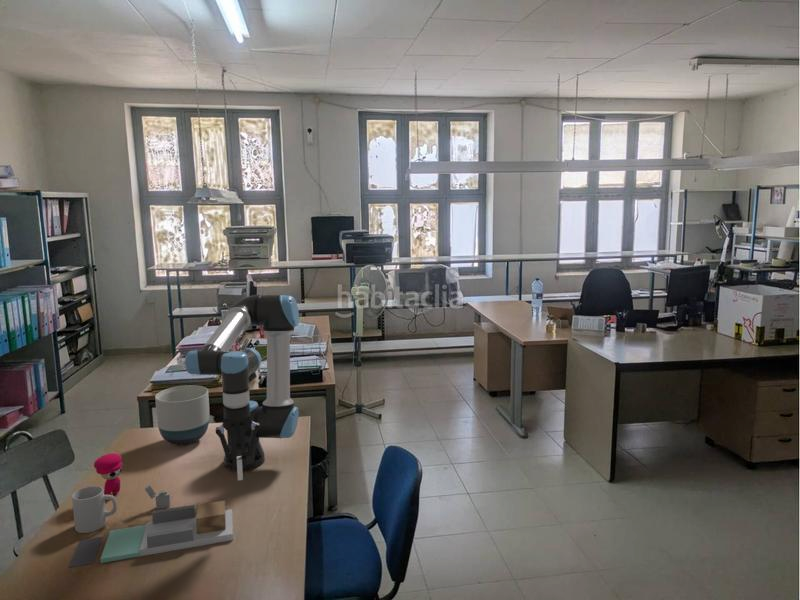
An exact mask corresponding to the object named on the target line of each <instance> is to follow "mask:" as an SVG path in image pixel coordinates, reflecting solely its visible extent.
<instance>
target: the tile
mask: <svg viewBox="0 0 800 600" xmlns="http://www.w3.org/2000/svg"><path fill="white" fill-rule="evenodd" d="M145 527H146V524H144V525H137V526H130V527H125V528H117V529H111V530H110V531H109V534H108V536H107V539H106V542H105V544H104V548H103V551H102V554H101V556H100V564H103V563H109V562H110V563H111V562H115V561H116V562H117V561H122V560H127V559H133V558H138V557H141V556H140V547H141V543H142V539H143V535H144V531H145Z"/></svg>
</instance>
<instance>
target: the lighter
mask: <svg viewBox="0 0 800 600" xmlns="http://www.w3.org/2000/svg"><path fill="white" fill-rule="evenodd" d="M144 490H145V492H146V493H147V495H148V496H149V497H150V499H151V500H152V499H154V498H155V508H156V510H161V509H168V508H171V494H170V492H168V491H166V490H161V491H159V493H156V491H155V490H154V489H153V487H152V486H151V485H150V484H148V485H147V486H145V487H144Z"/></svg>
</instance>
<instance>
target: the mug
mask: <svg viewBox="0 0 800 600" xmlns="http://www.w3.org/2000/svg"><path fill="white" fill-rule="evenodd" d="M71 501H72V503H71V504H72V513H73V519H74V520H73V522H74V529H75V532H77V533H78V534H90V533H94V532H95V531H96V532H97V531H98V530H101V529H102V528H103V527H105V525H106V524H107V517H111V516H113V515H115V514H116V512H117V509H118V502H117V499H116V497H115V495H113V494H111V495H104V488H103V487H102V486H99V485H90V486H86V487H82V488H80V489H78V490H76V491H75V492H73V493H72V495H71ZM106 501H111V502H112V506H113V508H112V509H111V510H106V509H107V508H106Z"/></svg>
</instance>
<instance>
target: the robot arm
mask: <svg viewBox="0 0 800 600" xmlns="http://www.w3.org/2000/svg"><path fill="white" fill-rule="evenodd" d="M299 311H300V310H299V307H298V303H297V301H296V299H295V298H294V297H293V296H292V295H284V294H278V295H277V294H275V295H274V294H273V295H272V294H268V295H266V294H265V295H263V294H253V295H248V296H246V297H244V298H242V299H239V300H238V301H236V302H234V304H232V305H231V306H230V307H229V308H228V309H227V311H226V312H225V313H224V314H225V315H224V319H223V321H222V322H221V323H220V325H218V327H217V328H216V330H215V331H214V332H213V333H212V334H211V336H210V337H209V339H207V340H206V343H204V344H203V346H202V348H201V349H200V350H199V349H195V350H190V351H188V353H187V354H186V356H185V359H184V360H185V361H184V367H185V370H186V372H187V373H188V374H190V375H196V376H197V375H199V376H204V375H205V376H209V375H210V376H221V384H222V387H221V388H222V404H223V405H224V406H223V420H222V424H221V425H220V426H217V427H215V434H216V435H217V436H218V438H219V440H220V442H221V445H222V449H223V452H224V457H223V464H224V467H225V468H226V469H228V470H230V471H237V473H236V474H237V481H244V475H243V471H248V470H253V469H255V467H256V468H257V467H260V466H261V465H263V463H264V462H265V461H266V460H265V459H266V457H265V455H266V454H265V452H264V449H263V447H262V444H261V442H260V438H261V439H262V438H263V439H264V438H265V439H279V440H281V439H289V438H292V437H294V435H295V432H296V430H297V427H298V422H299V415H300V413H299V412H300V411H299V407H297V406H295V402H294V400H293V399H292V398H291V334H293V332H295V327H297V326H298V325H299V324H300V323H299V322H300V321H299V320H300V313H299ZM254 326H258V327H259V326H260V327H262V332H263V333H264V334H265V336H266V399H265V400H263V401H262V406H259V404H258V402H257V401H255V400H250V387H249V383H250V382H249V379H250V376H251V375H252V374H254V373H255V372H256V371H257V370H258V369H259V367H261V364H262V356H261V354H260V352H259V351H258V350H256V349H255V348H252V347H247V348H244V349H242V350H231V348H232V347H233V345H234V344H235V343H236V342H237V339H238V338H239V337H240V336H241V334H242V332H243V331H245V330H247V329H248V328H249V327H254ZM225 431H226V436H225V434H224V433H225ZM226 437H227V439H226ZM259 465H260V466H259Z"/></svg>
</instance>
